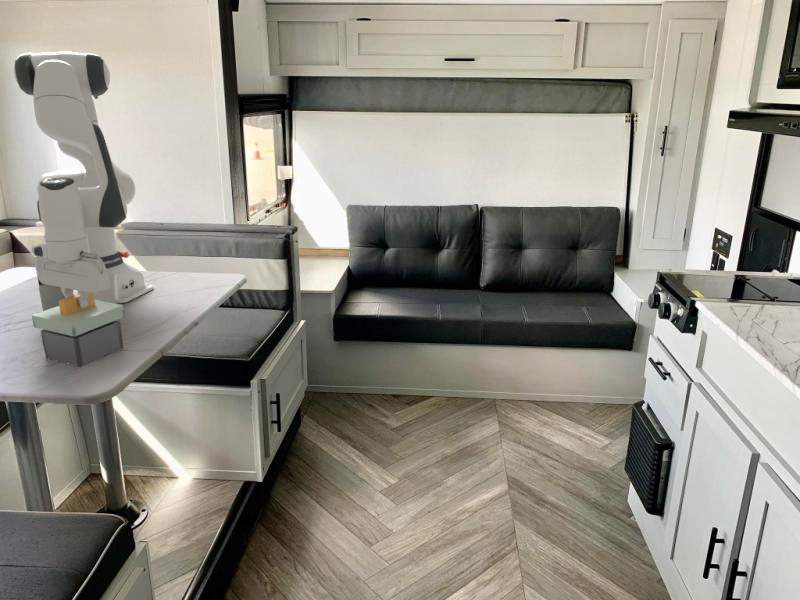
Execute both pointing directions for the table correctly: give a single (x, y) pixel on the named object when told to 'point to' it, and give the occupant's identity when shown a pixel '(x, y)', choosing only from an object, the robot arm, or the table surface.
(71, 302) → the lid
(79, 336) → the parts tub
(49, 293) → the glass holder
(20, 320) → the table surface
